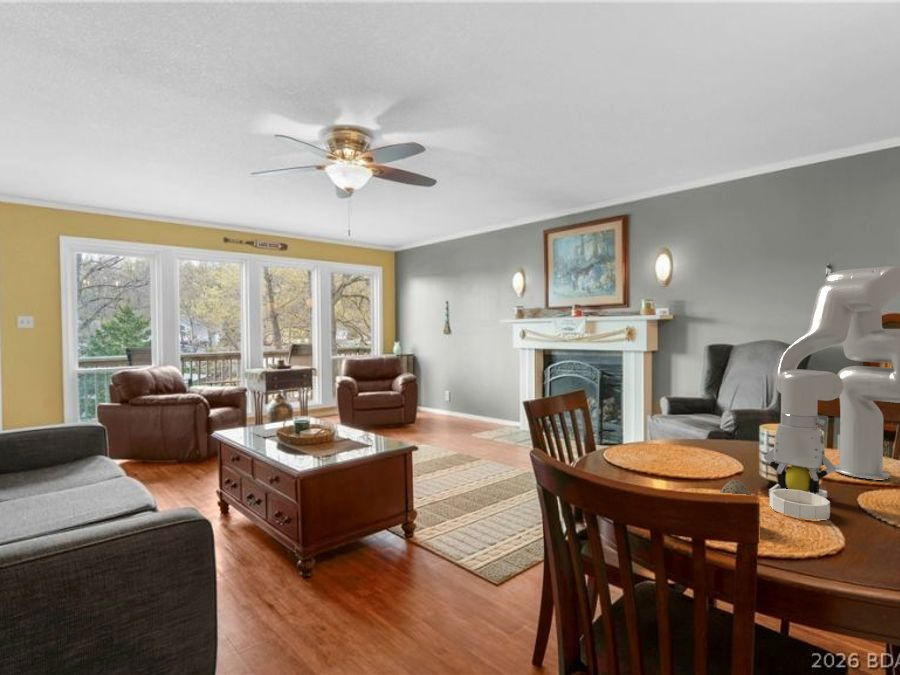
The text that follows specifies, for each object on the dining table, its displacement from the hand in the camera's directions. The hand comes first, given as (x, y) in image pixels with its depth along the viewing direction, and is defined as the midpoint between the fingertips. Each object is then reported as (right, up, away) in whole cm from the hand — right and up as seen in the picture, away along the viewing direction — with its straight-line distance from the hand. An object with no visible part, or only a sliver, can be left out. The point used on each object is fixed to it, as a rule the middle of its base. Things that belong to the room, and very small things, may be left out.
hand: (798, 491), depth 121 cm
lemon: (0, -1, 0) cm, 1 cm away
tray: (0, -1, 0) cm, 1 cm away
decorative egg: (-26, -2, -17) cm, 31 cm away
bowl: (-7, -2, -10) cm, 13 cm away
